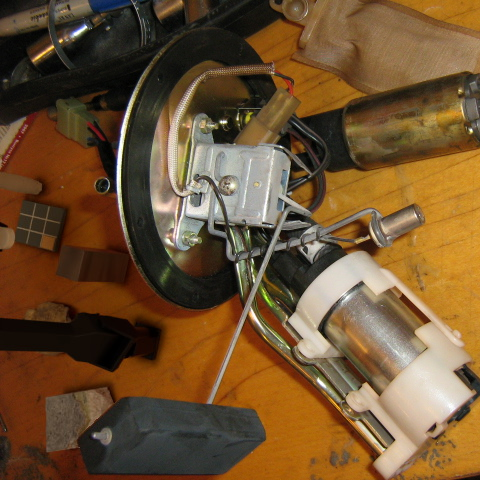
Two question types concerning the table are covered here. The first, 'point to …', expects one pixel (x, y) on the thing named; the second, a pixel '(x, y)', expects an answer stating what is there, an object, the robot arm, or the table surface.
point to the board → (40, 225)
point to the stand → (92, 264)
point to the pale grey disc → (6, 238)
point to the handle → (19, 183)
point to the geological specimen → (73, 416)
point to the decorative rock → (49, 316)
